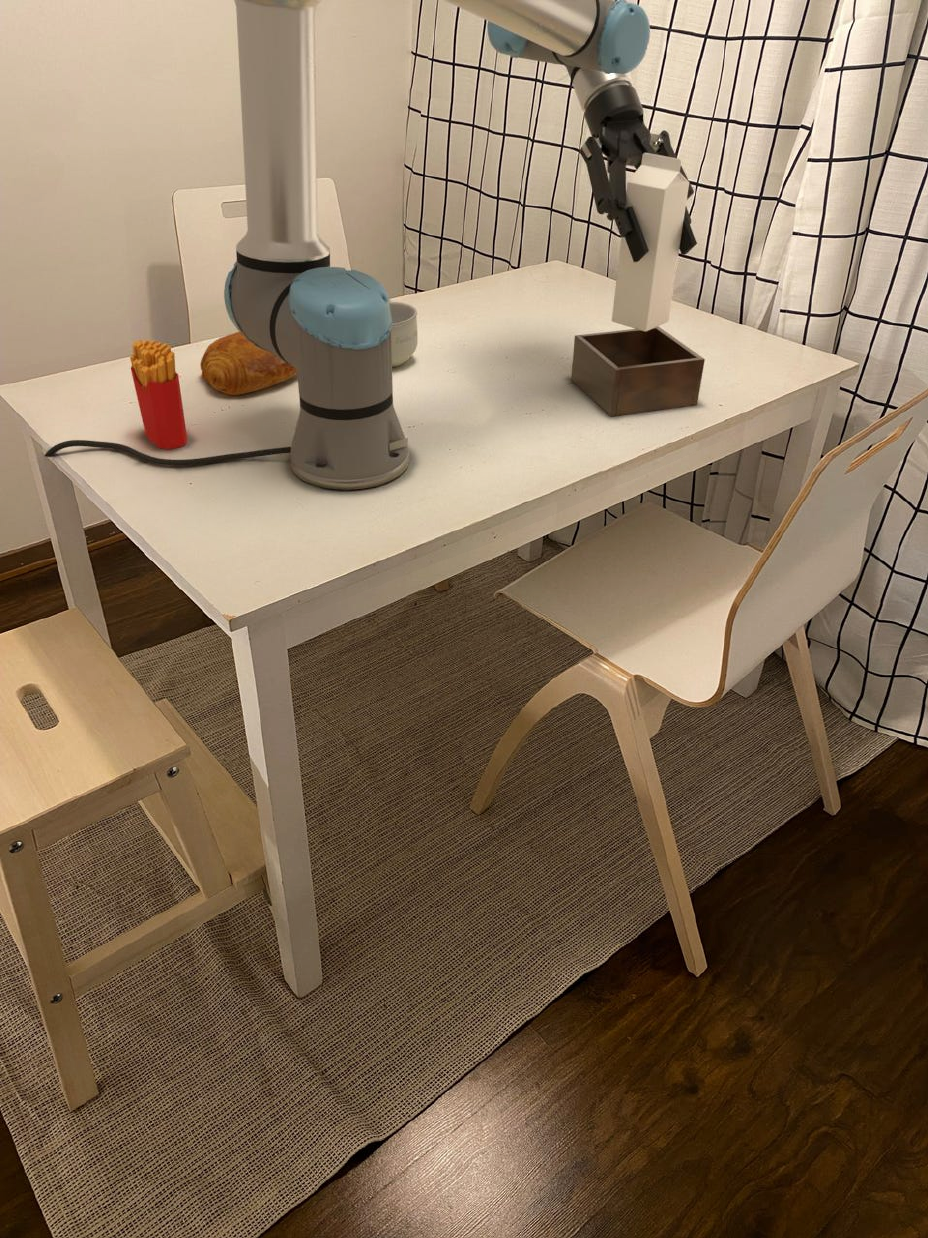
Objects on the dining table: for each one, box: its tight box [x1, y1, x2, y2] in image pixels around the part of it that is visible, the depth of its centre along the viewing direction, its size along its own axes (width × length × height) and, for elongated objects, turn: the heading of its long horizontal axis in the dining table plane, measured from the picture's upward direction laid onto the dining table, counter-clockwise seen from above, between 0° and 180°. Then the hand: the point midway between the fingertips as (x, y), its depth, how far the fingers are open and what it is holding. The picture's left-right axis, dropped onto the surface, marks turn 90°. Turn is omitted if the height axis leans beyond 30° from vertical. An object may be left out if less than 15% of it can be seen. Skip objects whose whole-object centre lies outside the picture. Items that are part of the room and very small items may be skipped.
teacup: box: [389, 298, 418, 368], centre depth 153 cm, size 14×11×8 cm
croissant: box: [199, 330, 297, 396], centre depth 146 cm, size 14×16×8 cm
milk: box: [611, 153, 690, 332], centre depth 132 cm, size 6×6×22 cm
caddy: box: [570, 326, 705, 417], centre depth 143 cm, size 14×14×7 cm
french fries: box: [129, 338, 188, 450], centre depth 126 cm, size 9×4×13 cm, turn 39°
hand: (665, 252), depth 130 cm, fingers closed on milk, 7 cm apart
